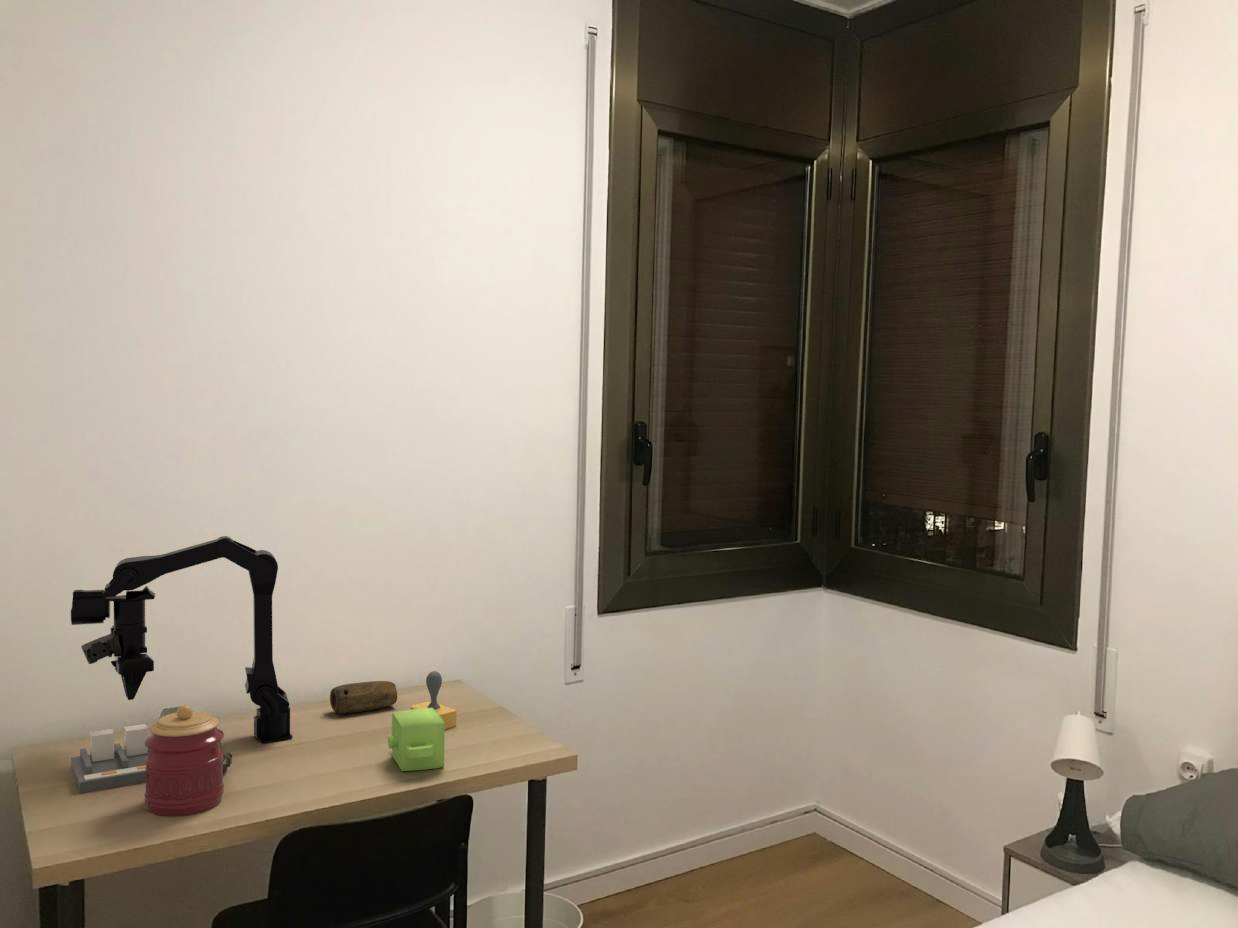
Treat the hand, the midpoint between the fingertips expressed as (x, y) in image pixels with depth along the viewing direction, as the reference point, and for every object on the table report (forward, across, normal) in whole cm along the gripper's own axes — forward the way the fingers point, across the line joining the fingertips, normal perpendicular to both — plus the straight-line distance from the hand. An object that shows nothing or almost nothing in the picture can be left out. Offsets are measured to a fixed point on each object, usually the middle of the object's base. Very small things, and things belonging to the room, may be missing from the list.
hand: (129, 698), depth 205 cm
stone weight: (+11, -4, +50) cm, 52 cm away
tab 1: (+9, +8, -6) cm, 13 cm away
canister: (+11, +33, +4) cm, 35 cm away
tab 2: (+9, +7, 0) cm, 12 cm away
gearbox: (+11, +33, +47) cm, 59 cm away
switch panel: (+11, +11, -3) cm, 16 cm away
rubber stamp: (+11, +13, +60) cm, 62 cm away
